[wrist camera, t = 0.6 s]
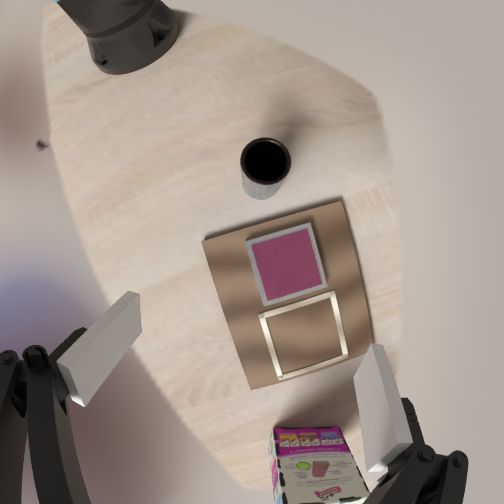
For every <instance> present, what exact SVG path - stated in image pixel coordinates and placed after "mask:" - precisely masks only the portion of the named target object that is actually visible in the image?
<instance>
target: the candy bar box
mask: <svg viewBox="0 0 504 504" xmlns="http://www.w3.org/2000/svg"><path fill="white" fill-rule="evenodd" d="M269 456H270V465H271V473H272V482H273V491H274V500H275V504H362V503H363V502H364V501H365V500H366V499H367V497H368V496H369V495H370V492H369V490H368V487H367V485H366V483H365V481H364V479H363V477H362V475H361V473H360V471H359V469H358V466H357V465H356V462H355V460H354V458H353V455H352V453H351V451H350V449H349V447H348V445H347V443H346V441H345V438H344V436H343V434H342V432H341V430H340V428H339V427H323V428H273V430H272V435H271V439H270V443H269Z"/></svg>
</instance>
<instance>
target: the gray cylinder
mask: <svg viewBox="0 0 504 504" xmlns="http://www.w3.org/2000/svg"><path fill="white" fill-rule="evenodd" d="M240 165H241V173H242V182H243V187H244V189H245V191H246V193H247V194H248V195H249V196H251V197H252V198H255V199H259V200H263V199H267V198H270V197H271V196H273V195H274V194H275V193H276V191H277V190H278V188H279V187H280V185H281V184H282V182H283V181H284V179H285V178H286V176H287V174H288V173H289V170H290V167H291V157H290V154H289V152H288V150H287V148H286V147H285V146H284V145H283V144H282V143H281V142H279V141H277V140H275V139H272V138H258V139H255V140H253V141H251V142H250V143H249V144H247V145H246V147H245V148H244V149H243V151H242V154H241V158H240Z"/></svg>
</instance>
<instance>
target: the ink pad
mask: <svg viewBox="0 0 504 504" xmlns="http://www.w3.org/2000/svg"><path fill="white" fill-rule="evenodd" d="M245 245H246V248H247V252H248V255H249V258H250V262H251V265H252V268H253V272H254V275H255V278H256V282H257V285H258V288H259V292H260V295H261V298H262V302H263V305H264V307H265V306H268V305H271V304H275V303H278V302H281V301H284V300H288V299H291V298H294V297H297V296H301V295H304V294H307V293H310V292H313V291H316V290H319V289H322V288H325V287H327V283H326V279H325V275H324V271H323V267H322V263H321V259H320V256H319V252H318V248H317V245H316V241H315V237H314V234H313V230H312V227H311V223H306V224H302V225H299V226H295V227H292V228H289V229H285V230H282V231H278V232H275V233H271V234H268V235H265V236H261V237H258V238H255V239H251V240H248V241H245Z"/></svg>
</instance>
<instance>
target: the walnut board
mask: <svg viewBox="0 0 504 504" xmlns="http://www.w3.org/2000/svg"><path fill="white" fill-rule="evenodd" d="M306 223H311V227H312V230H313V234H314V237H315V241H316V245H317V248H318V252H319V256H320V259H321V263H322V267H323V271H324V275H325V279H326V283H327V287H325V288H322V289H319V290H316V291H313V292H310V293H307V294H304V295H301V296H297V297H294V298H291V299H288V300H284V301H281V302H278V303H275V304H271V305H268V306H265V307H264V305H263V302H262V298H261V295H260V292H259V288H258V285H257V282H256V278H255V275H254V272H253V268H252V265H251V262H250V258H249V255H248V252H247V248H246V245H245V241H248V240H251V239H255V238H258V237H261V236H265V235H268V234H271V233H275V232H278V231H282V230H285V229H289V228H292V227H295V226H299V225H302V224H306ZM201 242H202V245H203V248H204V252H205V255H206V258H207V262H208V265H209V268H210V271H211V274H212V278H213V281H214V284H215V287H216V290H217V293H218V296H219V300H220V303H221V306H222V309H223V312H224V315H225V318H226V321H227V324H228V327H229V330H230V332H231V335H232V338H233V341H234V344H235V347H236V350H237V353H238V355H239V358H240V361H241V364H242V366H243V369H244V372H245V375H246V377H247V380H248V383H249V386H250V388H251V390H254V389H258V388H262V387H265V386H269V385H273V384H277V383H280V382H284V381H287V380H291V379H294V378H297V377H301V376H304V375H307V374H310V373H313V372H316V371H319V370H322V369H325V368H328V367H331V366H334V365H336V364H339V363H342V362H344V361H347V360H350V359H352V358H355V357H357V356H360V355H363V354H365V353H366V352H367V350H368V348H369V346H370V344H373V338H372V331H371V325H370V320H369V314H368V309H367V303H366V298H365V293H364V288H363V284H362V279H361V274H360V270H359V266H358V261H357V257H356V253H355V249H354V245H353V241H352V237H351V233H350V230H349V226H348V222H347V219H346V215H345V212H344V208H343V205H342V201H339V202H335V203H331V204H328V205H324V206H321V207H317V208H313V209H310V210H306V211H303V212H299V213H296V214H292V215H289V216H285V217H282V218H278V219H275V220H271V221H268V222H264V223H261V224H258V225H254V226H251V227H247V228H244V229H241V230H237V231H234V232H231V233H227V234H224V235H221V236H218V237H214V238H211V239H208V240H205V241H201Z"/></svg>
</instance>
